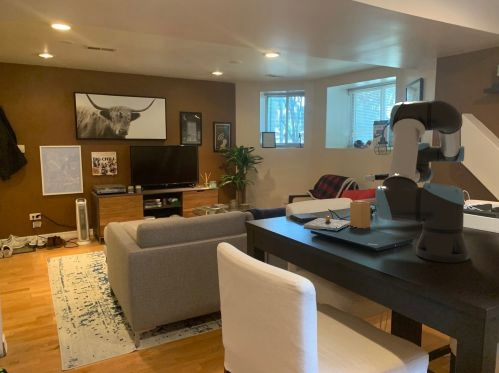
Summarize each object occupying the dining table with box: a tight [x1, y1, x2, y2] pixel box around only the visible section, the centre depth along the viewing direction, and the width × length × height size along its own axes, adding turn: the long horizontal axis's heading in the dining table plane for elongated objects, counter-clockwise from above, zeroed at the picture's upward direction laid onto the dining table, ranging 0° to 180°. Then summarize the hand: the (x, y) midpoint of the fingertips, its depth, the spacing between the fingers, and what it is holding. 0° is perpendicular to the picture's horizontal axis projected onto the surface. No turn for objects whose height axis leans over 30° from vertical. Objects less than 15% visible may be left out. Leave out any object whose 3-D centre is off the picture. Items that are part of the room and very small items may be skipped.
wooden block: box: [349, 199, 371, 229], centre depth 161 cm, size 6×6×12 cm
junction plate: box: [303, 215, 350, 230], centre depth 165 cm, size 16×16×4 cm
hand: (375, 179), depth 164 cm, fingers open, 13 cm apart
